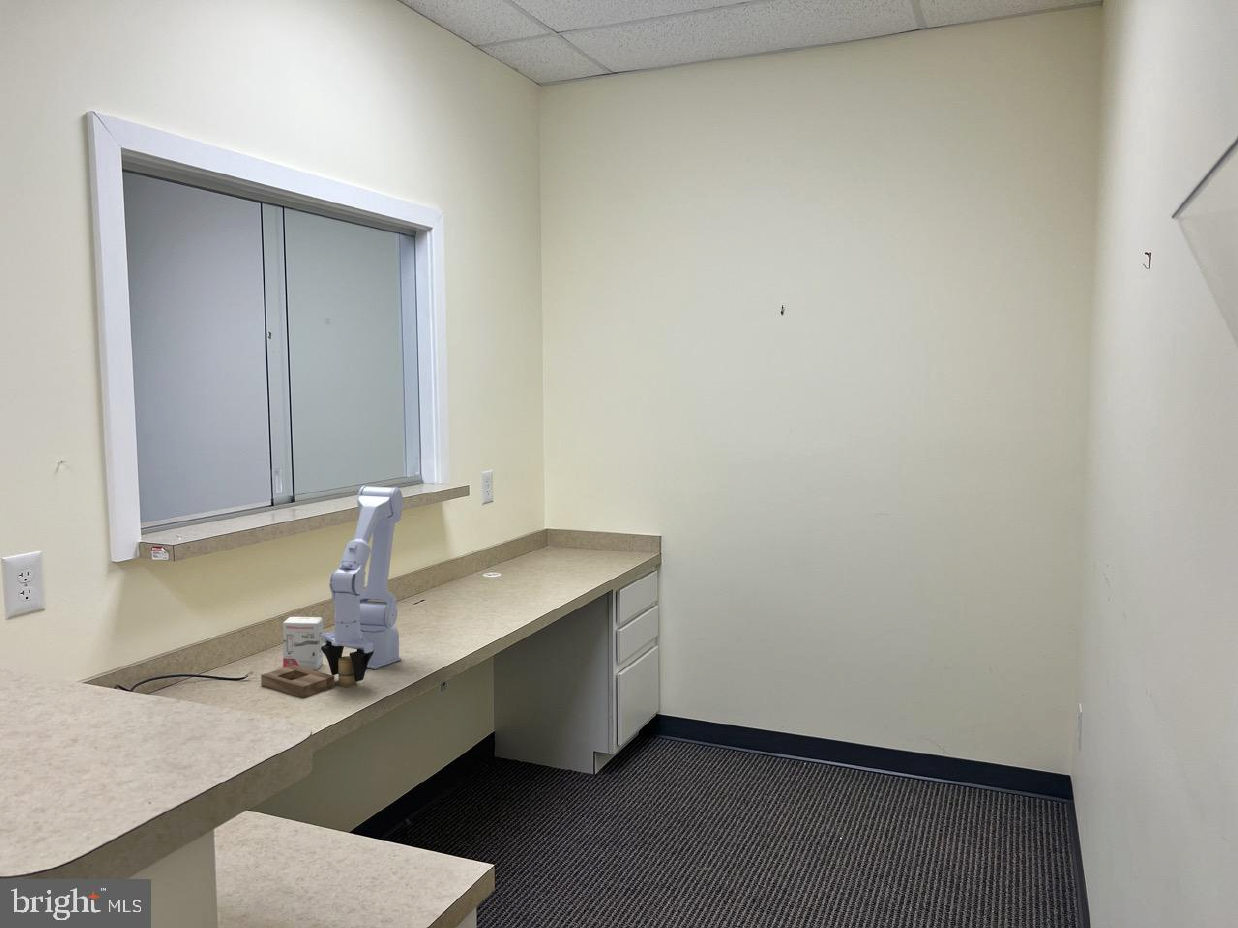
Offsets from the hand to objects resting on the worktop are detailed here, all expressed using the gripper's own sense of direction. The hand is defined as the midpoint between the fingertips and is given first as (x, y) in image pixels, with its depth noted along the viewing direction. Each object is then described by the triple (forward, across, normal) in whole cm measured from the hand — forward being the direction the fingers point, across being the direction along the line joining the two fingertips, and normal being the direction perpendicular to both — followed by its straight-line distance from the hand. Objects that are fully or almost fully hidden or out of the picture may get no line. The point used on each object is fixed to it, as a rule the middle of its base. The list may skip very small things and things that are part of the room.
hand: (347, 677), depth 214 cm
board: (+2, -8, -8) cm, 11 cm away
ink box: (+2, -18, +2) cm, 18 cm away
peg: (+2, 0, 0) cm, 2 cm away
